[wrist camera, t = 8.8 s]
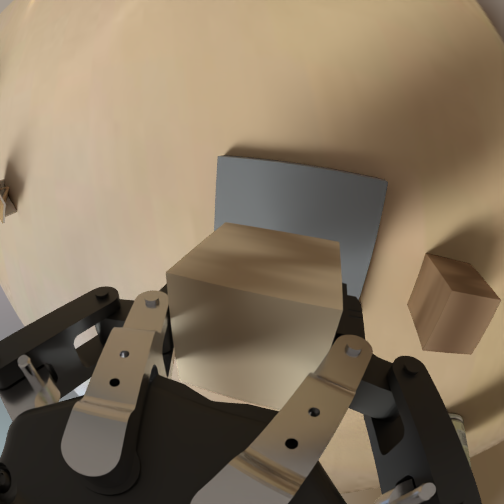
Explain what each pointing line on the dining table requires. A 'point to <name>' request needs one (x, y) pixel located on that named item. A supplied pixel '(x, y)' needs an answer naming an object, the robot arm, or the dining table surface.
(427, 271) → the walnut block
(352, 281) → the pad
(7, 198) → the architectural model
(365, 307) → the dining table surface
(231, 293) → the maple block
